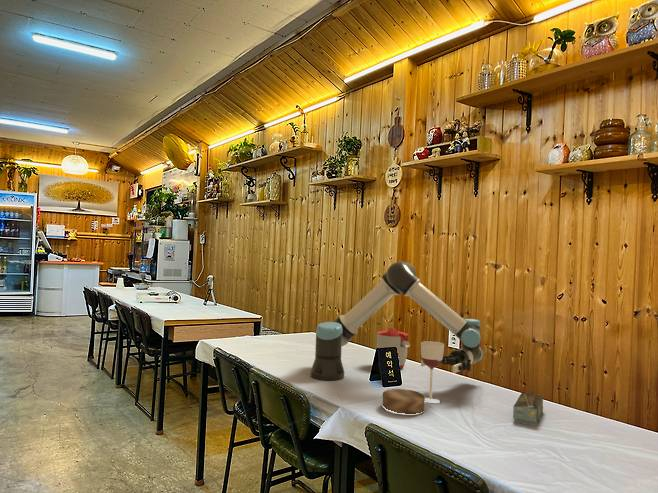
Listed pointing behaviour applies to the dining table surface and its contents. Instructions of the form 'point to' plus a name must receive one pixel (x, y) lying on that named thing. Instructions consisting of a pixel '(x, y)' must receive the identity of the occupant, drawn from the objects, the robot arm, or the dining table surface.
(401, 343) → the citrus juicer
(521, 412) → the weathered grey-green block
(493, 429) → the dining table surface
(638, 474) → the dining table surface
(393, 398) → the walnut stand
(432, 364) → the wineglass
